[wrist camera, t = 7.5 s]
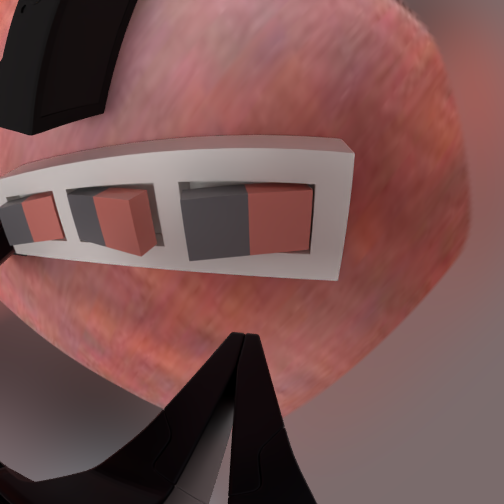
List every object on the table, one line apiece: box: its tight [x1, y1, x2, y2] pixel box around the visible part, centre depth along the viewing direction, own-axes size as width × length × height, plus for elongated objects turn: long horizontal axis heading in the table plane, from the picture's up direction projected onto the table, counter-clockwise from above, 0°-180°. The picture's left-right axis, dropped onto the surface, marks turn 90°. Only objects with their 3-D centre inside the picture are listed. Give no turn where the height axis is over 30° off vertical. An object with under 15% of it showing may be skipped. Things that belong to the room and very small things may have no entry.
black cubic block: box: [0, 0, 137, 135], centre depth 10 cm, size 10×5×7 cm, turn 160°
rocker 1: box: [0, 191, 65, 246], centre depth 16 cm, size 6×3×1 cm, turn 92°
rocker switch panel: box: [0, 135, 355, 281], centre depth 17 cm, size 29×7×4 cm, turn 91°
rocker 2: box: [67, 187, 157, 257], centre depth 15 cm, size 6×3×1 cm, turn 91°
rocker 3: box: [180, 182, 313, 261], centre depth 14 cm, size 6×3×1 cm, turn 92°
